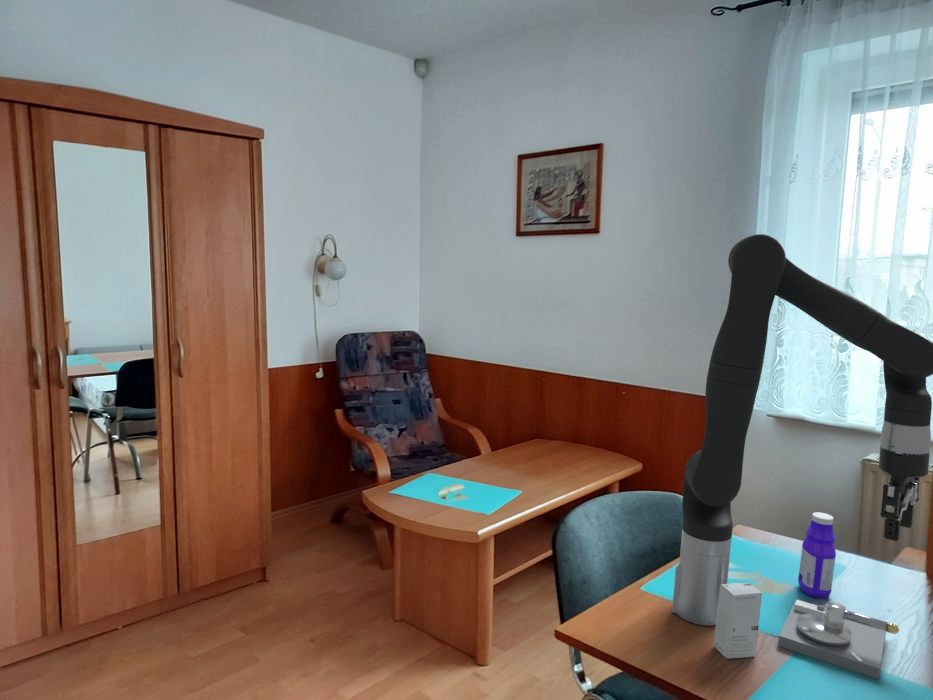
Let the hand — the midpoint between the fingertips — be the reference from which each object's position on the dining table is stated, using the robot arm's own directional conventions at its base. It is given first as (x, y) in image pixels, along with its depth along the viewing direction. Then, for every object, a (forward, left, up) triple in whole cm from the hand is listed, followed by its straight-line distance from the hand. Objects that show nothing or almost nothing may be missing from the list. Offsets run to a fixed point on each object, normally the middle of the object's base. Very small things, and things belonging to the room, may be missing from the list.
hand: (898, 532), depth 123 cm
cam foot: (-6, -7, -20) cm, 22 cm away
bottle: (-14, +15, -22) cm, 30 cm away
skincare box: (-22, -20, -22) cm, 37 cm away
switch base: (-8, -5, -22) cm, 24 cm away
